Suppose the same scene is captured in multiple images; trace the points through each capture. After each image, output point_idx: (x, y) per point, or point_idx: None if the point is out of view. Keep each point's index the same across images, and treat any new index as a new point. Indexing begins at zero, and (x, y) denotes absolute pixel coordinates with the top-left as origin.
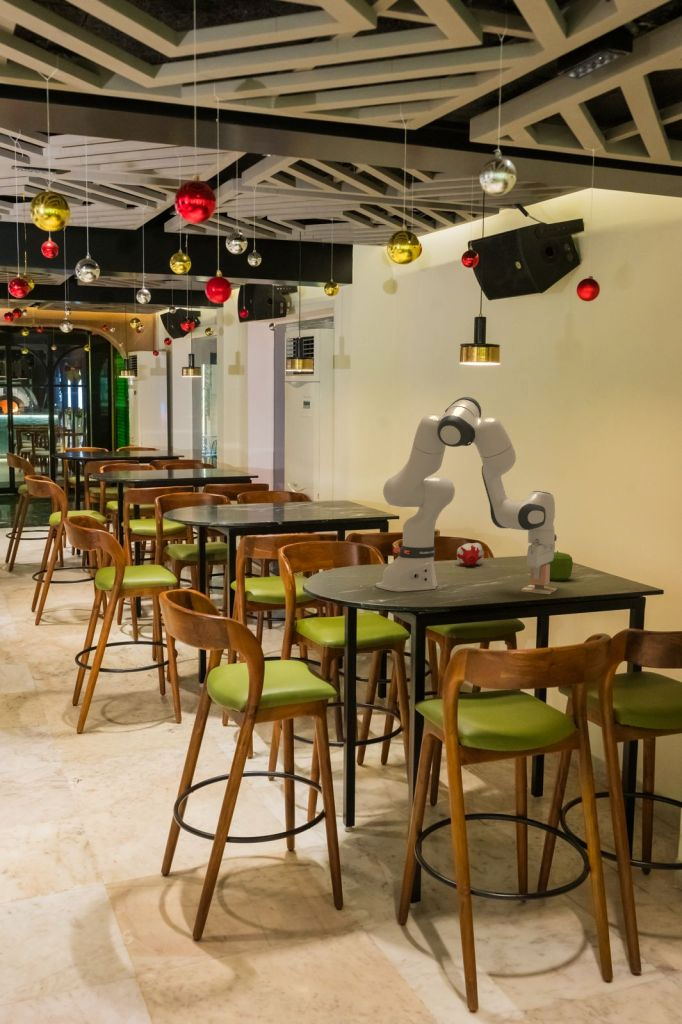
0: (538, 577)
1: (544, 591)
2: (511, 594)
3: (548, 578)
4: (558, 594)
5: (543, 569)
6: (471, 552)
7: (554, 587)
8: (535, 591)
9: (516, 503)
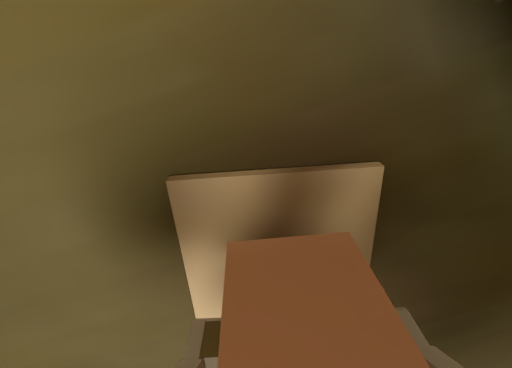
0: (411, 318)
1: (362, 204)
2: (465, 313)
3: (265, 267)
4: (357, 103)
5: None
6: None
7: (172, 201)
8: (370, 249)
9: None
